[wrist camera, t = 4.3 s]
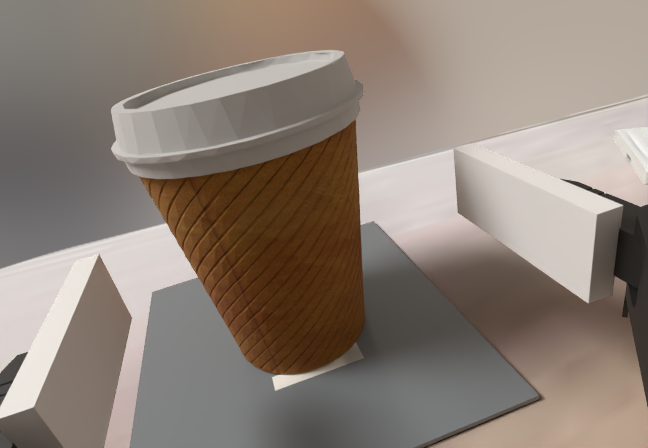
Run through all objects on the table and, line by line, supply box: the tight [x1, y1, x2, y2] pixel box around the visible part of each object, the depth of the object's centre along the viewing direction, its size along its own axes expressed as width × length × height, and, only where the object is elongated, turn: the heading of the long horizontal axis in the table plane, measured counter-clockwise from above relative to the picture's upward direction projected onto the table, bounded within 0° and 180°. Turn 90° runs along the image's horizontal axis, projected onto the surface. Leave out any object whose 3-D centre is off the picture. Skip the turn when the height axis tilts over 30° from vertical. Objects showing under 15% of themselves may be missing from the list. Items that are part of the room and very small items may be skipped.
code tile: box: [130, 221, 539, 448], centre depth 21 cm, size 15×16×1 cm
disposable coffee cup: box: [111, 50, 365, 374], centre depth 19 cm, size 10×10×12 cm
